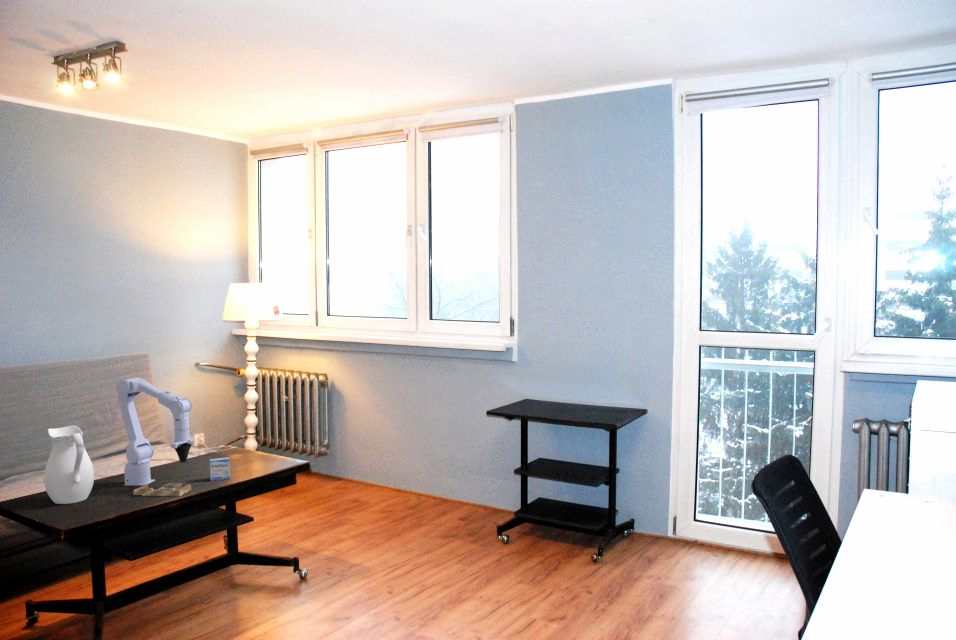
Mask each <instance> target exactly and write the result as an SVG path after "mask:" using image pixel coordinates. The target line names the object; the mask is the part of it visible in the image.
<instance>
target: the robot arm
mask: <svg viewBox="0 0 956 640" xmlns="http://www.w3.org/2000/svg"><path fill="white" fill-rule="evenodd" d="M115 388H116V392H117V402H118V406H119V409H120V414H121V415H122V419H123V423H124V426H125V430H126V434H127V437H128V443H127V445H126V446H125V450H126V451H125V452H126V454H125V457H126V460H127V461H128V462H127V463H126V464H125V465H124V469H123V470H124V471H123V472H124V484H123V486H143V485H145V484H148V485H149V484H151V483H153V482H155V481H156V479H154V478H153V479H152V476H151V475H152V473H151V460H152V457H153V456H154V448H153V446H152V445H151V444H150V440H149V439H147V438H146V437H145V436H144V435H143V430H142V427H141V424H140V420H139V416H138V412H137V410H136V409H137V408H136V406H135V402H134V401H135V399H136V398H137V396H139V395H140V394H141V393H144V394H146V395H148V396H151V397H153V398H154V399H157V402H158V403H159V404H160V405H162V406H163V407H166V408H167V409H169V410H170V412H171V413H172V418H173V424H174V425H173V426H174V431H173V432H174V440H173V442H172V443H171V444H170V448H171V449H174V450H175V452H176V454H177V456H178V459H179V462H180V463H187V462H188V461H187V460H188V458H189V457H188V456H189V451H190V449H191V448H192V443H191V442H194V435H190V433H191V431H190V411H192V407H193V406H192V402H191V400H189V399H188V398H186V397H185V398H181V396H180V395H178V396H177V395H175V394H173V393H172V391H170V390H163V391H162V390H160V389H159V388H157V387H156V386H154V385H153V384H151V383H150V382H148V381H147V379H145V378H143V377H141V376H136V377H131V378H126V379H125V378H123V379H121V380H119V381H118V384H117V385H116V386H115Z"/></svg>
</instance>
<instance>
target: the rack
mask: <svg viewBox="0 0 956 640" xmlns="http://www.w3.org/2000/svg"><path fill="white" fill-rule="evenodd" d="M189 490H190V491H192V484H189V483H188V484H186V485H185V486H182V488H181V489H179V490H175V488H163V486H161V487H159V488H158V489H154V488H153V487H149V484H145V485H140V486H139V487H138V488H135V489H133V491H132V492H133V496H134V495H142V496H141V497H181V496H183V495H184V493H185V494H186V493H188V492H190V491H189ZM146 495H147V496H146Z"/></svg>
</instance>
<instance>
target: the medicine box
mask: <svg viewBox="0 0 956 640" xmlns="http://www.w3.org/2000/svg"><path fill="white" fill-rule="evenodd" d="M230 463H231V461H230V457H229V456H228V457H220V458H210V459H209V477H210V482H213V481H212V480H218V481H222V480H221V479H226V480H230V479H231V466H230V465H231V464H230Z"/></svg>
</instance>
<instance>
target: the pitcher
mask: <svg viewBox="0 0 956 640" xmlns="http://www.w3.org/2000/svg"><path fill="white" fill-rule="evenodd" d="M47 434H48V437H49V438H50V441H51V450H50V454H49V456H48V459H47V462H46V466H45V469H44V477H43V478H44V479H43V482H44V488H45V491H46V493H47V496H49V498H50V500H51V501H52V502H53V503H54V504H57V505H69V504H75V503H79V502H82V501H85V500H87V498H88V497H89V496H90V493H91V492H92V489H93V486H94V482H95V481H94V480H95V472H94V471H95V470H94V469H95V468H94V465H93V463H92V461H91V457H90V456H89V454H88V452H87V449H86V447H85V444H84V440H83V435H84V432H83V431H82V430H81V428H80V427H79V426H78V425H74V424H73V425H72V424H71V425H67V426H63V427H56V428H48V429H47Z"/></svg>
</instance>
